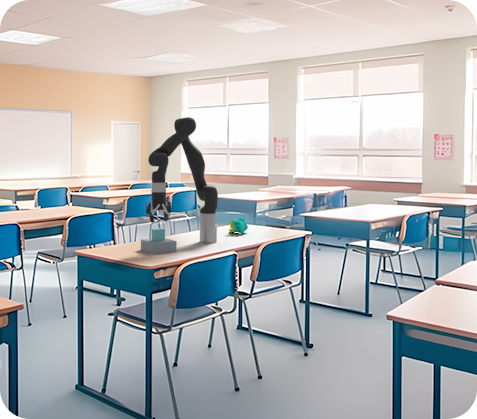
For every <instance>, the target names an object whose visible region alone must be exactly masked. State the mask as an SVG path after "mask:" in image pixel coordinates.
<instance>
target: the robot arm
mask: <svg viewBox="0 0 477 419" xmlns="http://www.w3.org/2000/svg"><path fill="white" fill-rule="evenodd" d="M196 129H197V122H196V120H195V119H194V118H193V117H190V116H189V117H181V118H176V120H175V121H174V131H175V133H174V134H172V135H171V136H169V137H168V138H167V139H166V140H165V141H164V142H163V143H162V144H161V146H160V147H158V148H156V149H155V150H154V151H152V152H151V153H150V155H149V157H148V160H147V161H148V164H149V165H150V166H151V167H157V170H155V171H152V173H151V190H150V192H151V202H146V204H145V205H146V206H145V213H146V214H147V215H149V221H150V223H155V222H154V221H155V218H154V217H155V213H156V212H157V211H162V212H163V221H164V222H168V220H169V214H170V213H172V202H171V201H168V200H167V185H166V173H167V169H168V165H169V157H170V156H172V155H173V153H174V152H175V150H176V149H177V148H178V147H179V146H180V145H181V147H182V149H183V152H184V154H185V158H186V161H187V163H188V167H189V169H190V172H191V176H192V178H193V182H194V185H195V190H196V193H197V197H198V199H199V200H200V201H202V202H204V204H203V206H202V207H201V208H200V209H199V243H202V244H210V243H211V244H212V243H216V242H217V240H218V239H217V236H218V232H217V231H218V226H217V225H216V224H217V223H216V221H217V220H216V219H217V218H216V217H217V216H216V214H217V212H216V210H217V208H218V202H219V201H218V198H219V197H218V196H219V194H218V190H217V188H216V187H215V186H212V185H208V184H207V182H206V179H205V170H206V163H205V160H204V156H203V153H202V151H201V150H200V149H199V148H198V147H197V146H196V145H195V144H194V143H193V142H192V141H191V138H190V136H191V135H192V134H193V133H195V131H196ZM166 200H167V201H166Z"/></svg>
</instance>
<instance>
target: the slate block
mask: <svg viewBox="0 0 477 419" xmlns="http://www.w3.org/2000/svg"><path fill="white" fill-rule="evenodd" d="M177 245H178V244H177V240H174V239H171V238H166V237H165V241H153V240H152V238H143V239H140V251H143V252H146V253H148V254H151V255H157V254H166V253H168V254H169V253H176V252H177Z"/></svg>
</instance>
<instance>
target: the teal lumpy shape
mask: <svg viewBox="0 0 477 419" xmlns="http://www.w3.org/2000/svg"><path fill="white" fill-rule="evenodd" d="M229 223H230V224H229V225H230V226H229V227H230V228H229V229H228V232H229V231H230V233H231V232H239V233H243V234H244V233H245V232H246V231H247V230H248V229H249V225H248V222H247V220H246V219H245V216H244V217H243V216H242V217H240V218H239V219H233V218H232V219H230V220H229Z"/></svg>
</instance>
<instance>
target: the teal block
mask: <svg viewBox="0 0 477 419" xmlns="http://www.w3.org/2000/svg"><path fill="white" fill-rule="evenodd" d="M165 238H166V230H165V229H164V228H159V227H157V228H152V229H151V239H152V240H153V241H165Z"/></svg>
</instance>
